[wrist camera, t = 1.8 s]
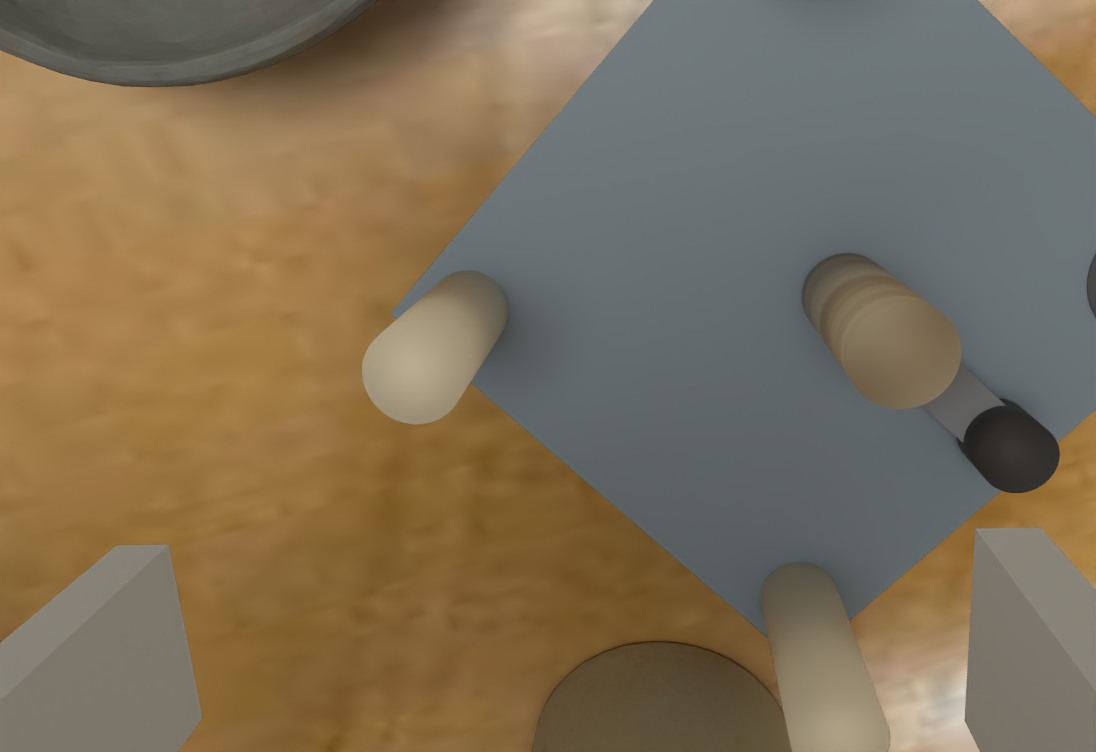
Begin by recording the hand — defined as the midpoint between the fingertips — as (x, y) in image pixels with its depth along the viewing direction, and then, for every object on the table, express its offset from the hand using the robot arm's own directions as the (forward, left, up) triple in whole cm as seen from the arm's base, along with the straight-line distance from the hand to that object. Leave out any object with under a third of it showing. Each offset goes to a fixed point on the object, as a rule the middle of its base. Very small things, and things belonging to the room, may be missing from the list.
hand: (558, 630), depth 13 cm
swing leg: (+5, -9, -21) cm, 23 cm away
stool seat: (+4, -4, -24) cm, 25 cm away
